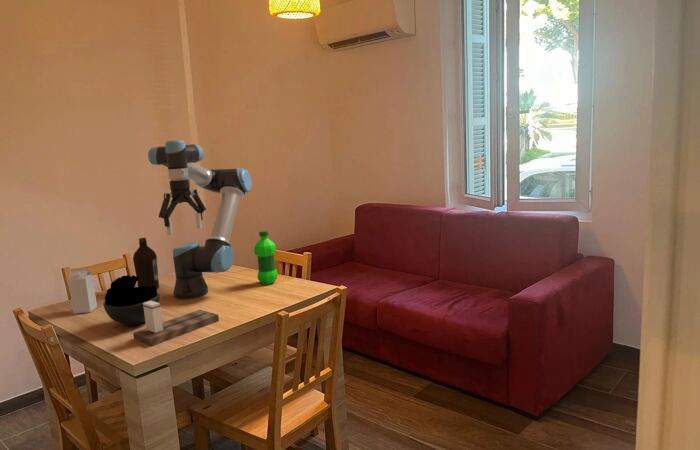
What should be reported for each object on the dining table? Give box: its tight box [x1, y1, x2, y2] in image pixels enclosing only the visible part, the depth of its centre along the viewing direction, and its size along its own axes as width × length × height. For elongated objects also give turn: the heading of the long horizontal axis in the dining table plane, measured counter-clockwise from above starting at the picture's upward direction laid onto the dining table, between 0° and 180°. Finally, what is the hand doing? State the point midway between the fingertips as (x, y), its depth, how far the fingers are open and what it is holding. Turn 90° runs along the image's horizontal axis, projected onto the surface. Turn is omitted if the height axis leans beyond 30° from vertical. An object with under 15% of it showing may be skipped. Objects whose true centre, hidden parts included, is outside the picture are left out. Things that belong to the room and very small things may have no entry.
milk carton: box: [67, 266, 98, 315], centre depth 220 cm, size 7×7×19 cm
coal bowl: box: [103, 274, 160, 326], centre depth 200 cm, size 20×20×19 cm
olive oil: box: [132, 237, 160, 289], centre depth 248 cm, size 11×11×25 cm
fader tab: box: [143, 301, 163, 333], centre depth 183 cm, size 3×6×10 cm, turn 51°
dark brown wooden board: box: [132, 309, 220, 347], centre depth 191 cm, size 28×12×3 cm, turn 141°
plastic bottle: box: [253, 230, 279, 285], centre depth 245 cm, size 10×10×25 cm
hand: (185, 231), depth 209 cm, fingers open, 13 cm apart
